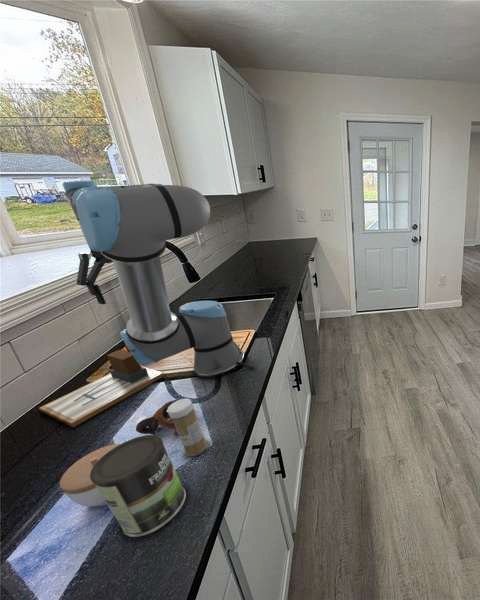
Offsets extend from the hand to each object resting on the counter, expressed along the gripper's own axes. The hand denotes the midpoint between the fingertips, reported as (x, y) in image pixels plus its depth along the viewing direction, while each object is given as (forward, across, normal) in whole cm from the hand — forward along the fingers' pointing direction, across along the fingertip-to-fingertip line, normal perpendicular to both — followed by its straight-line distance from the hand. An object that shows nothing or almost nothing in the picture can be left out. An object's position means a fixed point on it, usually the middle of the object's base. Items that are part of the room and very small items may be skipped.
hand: (126, 296), depth 106 cm
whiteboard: (+25, +18, +8) cm, 32 cm away
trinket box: (+25, +37, +50) cm, 67 cm away
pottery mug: (+25, +21, +44) cm, 55 cm away
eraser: (+23, +11, +8) cm, 27 cm away
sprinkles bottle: (+25, +23, +57) cm, 66 cm away
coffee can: (+25, +36, +63) cm, 77 cm away
